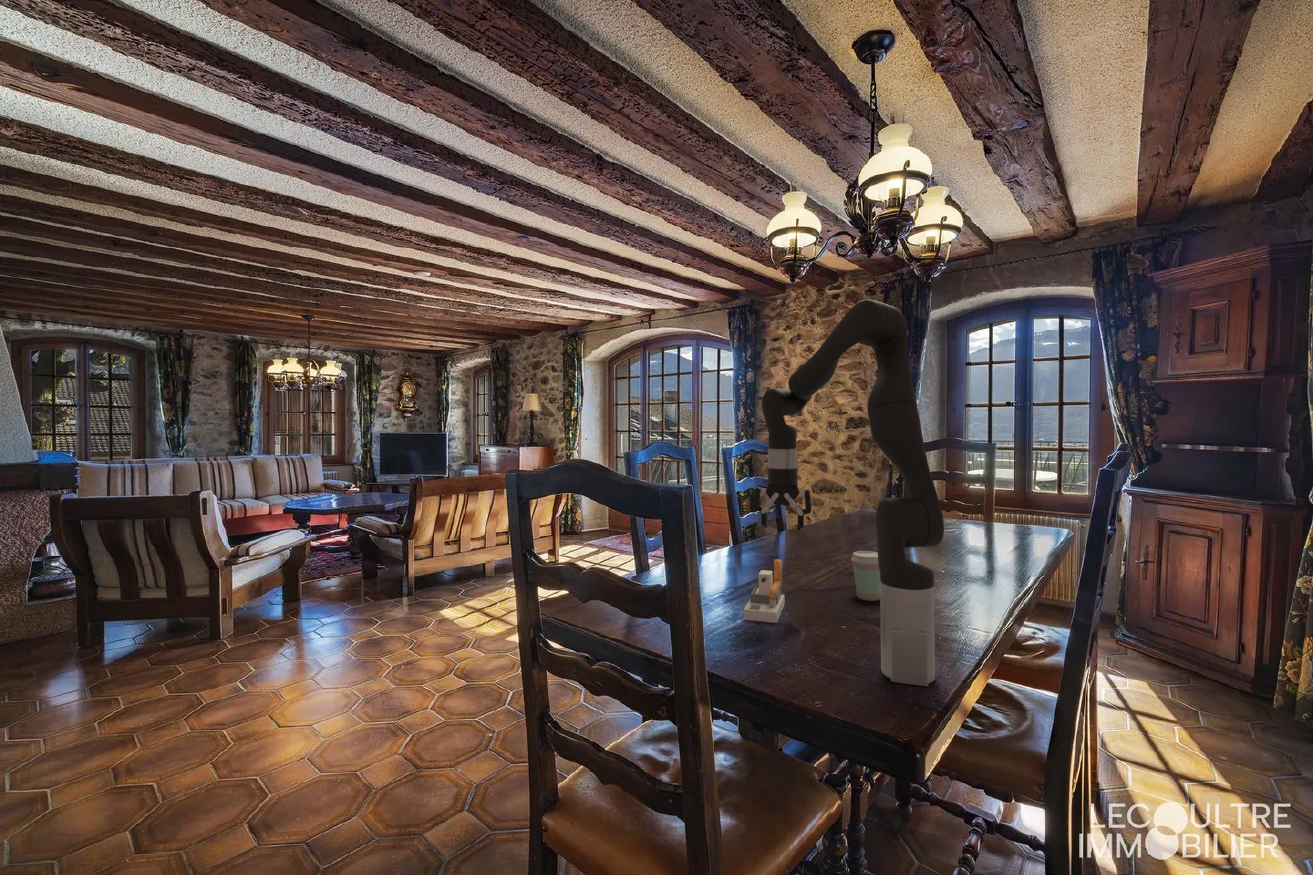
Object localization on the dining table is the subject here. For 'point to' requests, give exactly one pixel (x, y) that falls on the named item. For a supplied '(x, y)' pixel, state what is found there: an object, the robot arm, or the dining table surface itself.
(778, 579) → the crank handle
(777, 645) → the dining table surface
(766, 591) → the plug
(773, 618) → the white stepped base
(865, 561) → the coffee cup
